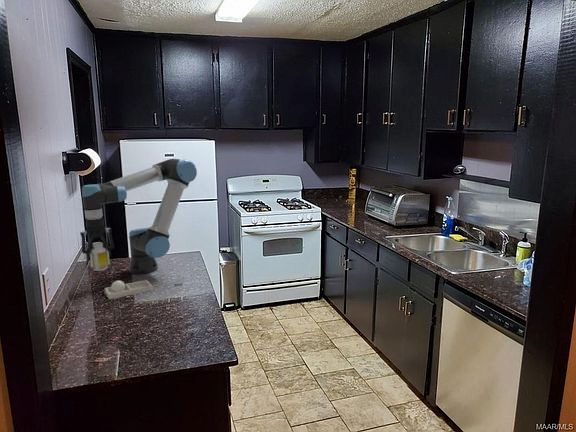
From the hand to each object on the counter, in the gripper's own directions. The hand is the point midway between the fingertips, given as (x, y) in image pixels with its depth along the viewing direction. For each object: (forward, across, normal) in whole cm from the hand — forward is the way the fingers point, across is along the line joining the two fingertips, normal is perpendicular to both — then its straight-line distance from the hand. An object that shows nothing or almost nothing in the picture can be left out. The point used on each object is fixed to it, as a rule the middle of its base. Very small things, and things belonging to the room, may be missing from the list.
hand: (100, 264), depth 201 cm
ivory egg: (+11, +4, -12) cm, 17 cm away
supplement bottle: (+2, 0, 0) cm, 2 cm away
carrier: (+13, +9, -12) cm, 20 cm away
